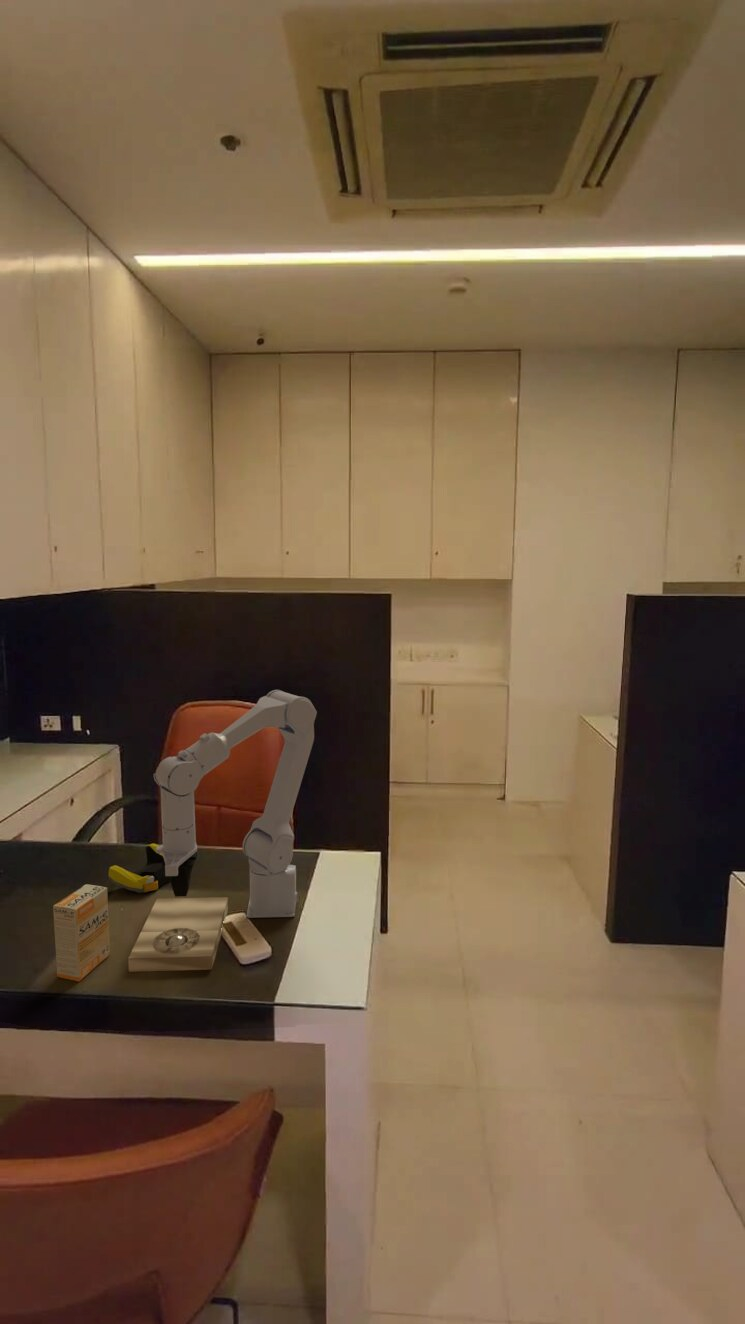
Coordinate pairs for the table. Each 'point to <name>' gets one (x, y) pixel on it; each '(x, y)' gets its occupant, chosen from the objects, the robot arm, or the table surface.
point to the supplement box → (81, 931)
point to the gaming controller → (141, 873)
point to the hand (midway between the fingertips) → (181, 894)
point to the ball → (177, 941)
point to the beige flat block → (180, 918)
